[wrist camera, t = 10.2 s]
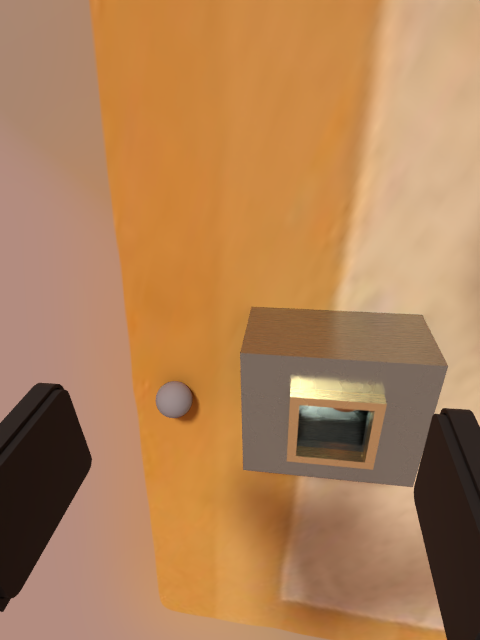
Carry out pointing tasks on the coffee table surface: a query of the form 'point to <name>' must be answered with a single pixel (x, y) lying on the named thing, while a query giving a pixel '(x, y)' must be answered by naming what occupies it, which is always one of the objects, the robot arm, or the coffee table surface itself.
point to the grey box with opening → (338, 393)
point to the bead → (174, 399)
